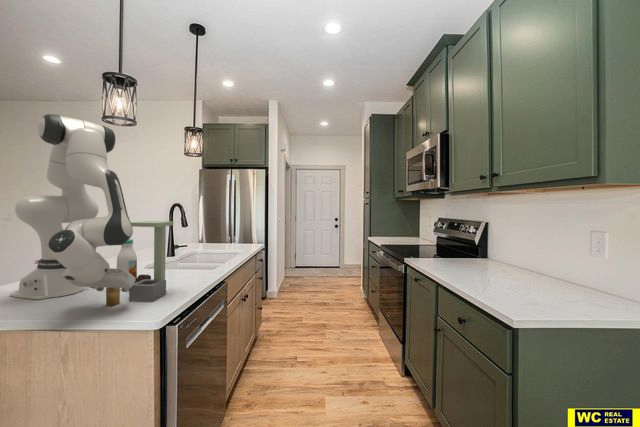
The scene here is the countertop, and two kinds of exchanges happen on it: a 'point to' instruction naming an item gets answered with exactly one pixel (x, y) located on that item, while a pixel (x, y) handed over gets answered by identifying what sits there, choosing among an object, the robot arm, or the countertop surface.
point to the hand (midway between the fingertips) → (114, 289)
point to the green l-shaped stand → (157, 245)
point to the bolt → (142, 277)
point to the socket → (147, 290)
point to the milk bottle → (127, 258)
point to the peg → (112, 296)
